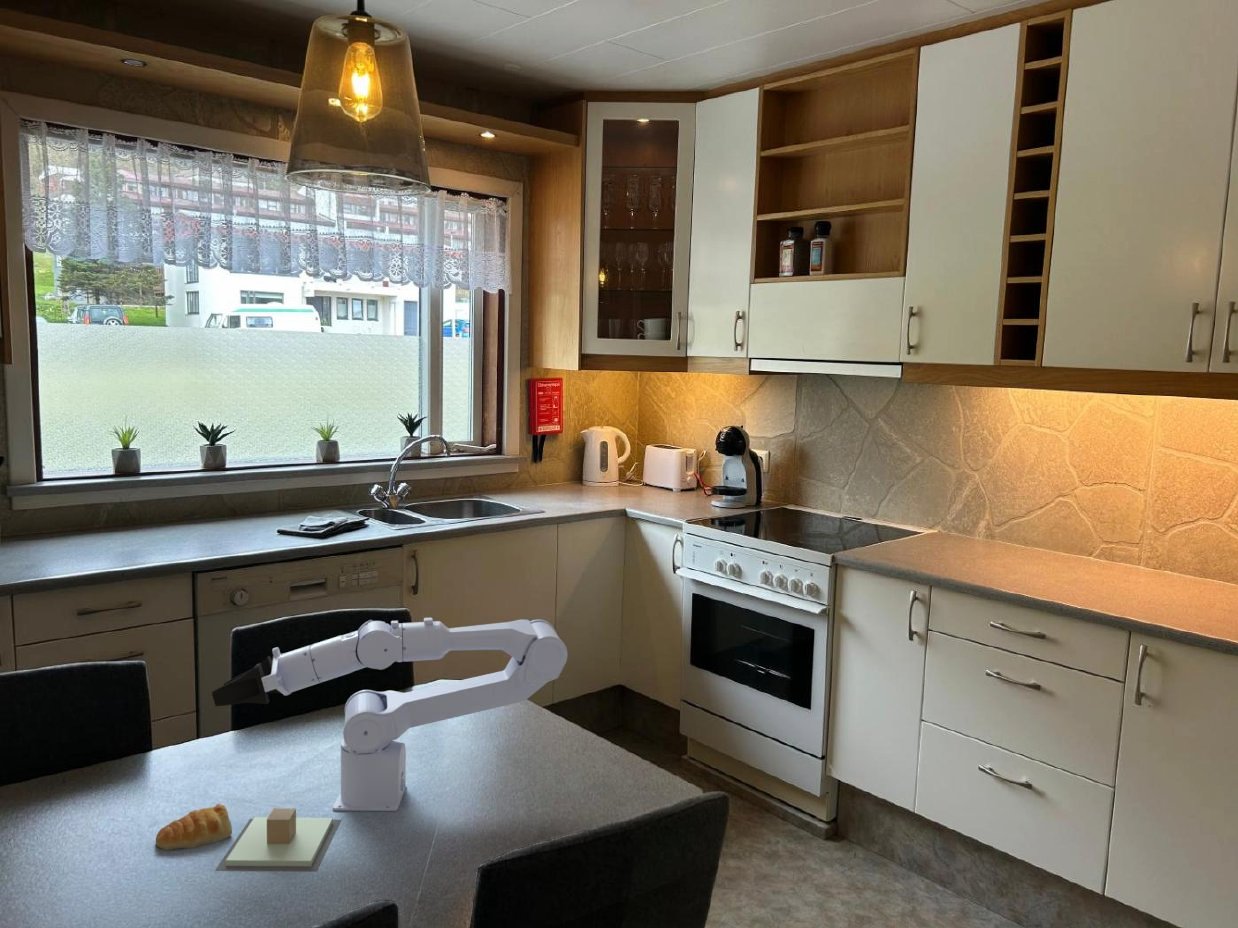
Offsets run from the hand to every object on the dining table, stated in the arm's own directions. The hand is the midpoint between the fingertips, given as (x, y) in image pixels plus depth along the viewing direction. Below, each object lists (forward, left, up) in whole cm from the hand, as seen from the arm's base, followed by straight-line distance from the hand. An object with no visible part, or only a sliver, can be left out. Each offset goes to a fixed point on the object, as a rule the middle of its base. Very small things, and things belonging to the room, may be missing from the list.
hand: (220, 694), depth 131 cm
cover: (-11, +9, -18) cm, 23 cm away
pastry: (+1, +7, -18) cm, 20 cm away
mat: (-11, +9, -18) cm, 23 cm away
